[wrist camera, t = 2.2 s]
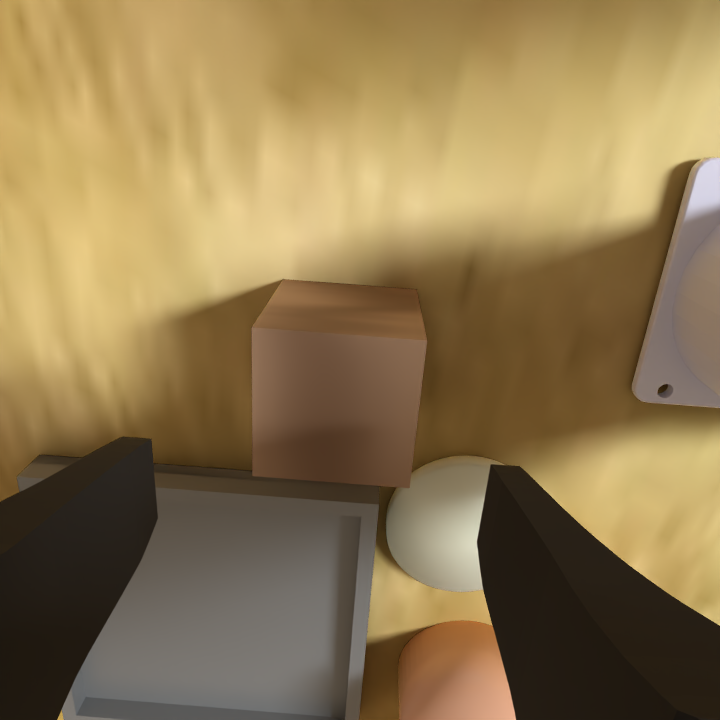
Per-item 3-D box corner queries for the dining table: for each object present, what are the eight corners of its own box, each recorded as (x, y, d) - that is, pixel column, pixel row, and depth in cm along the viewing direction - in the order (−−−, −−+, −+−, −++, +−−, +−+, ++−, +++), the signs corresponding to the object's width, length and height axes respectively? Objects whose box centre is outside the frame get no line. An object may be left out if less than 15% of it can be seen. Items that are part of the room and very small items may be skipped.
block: (416, 288, 19) (427, 340, 15) (403, 408, 21) (409, 488, 16) (283, 278, 19) (251, 327, 15) (281, 398, 21) (252, 475, 16)
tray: (379, 481, 22) (379, 504, 21) (357, 715, 27) (356, 747, 26) (39, 455, 22) (16, 476, 21) (80, 693, 27) (64, 723, 26)
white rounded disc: (551, 458, 22) (558, 473, 21) (521, 579, 24) (526, 598, 23) (394, 444, 22) (394, 458, 21) (379, 567, 24) (379, 584, 23)
